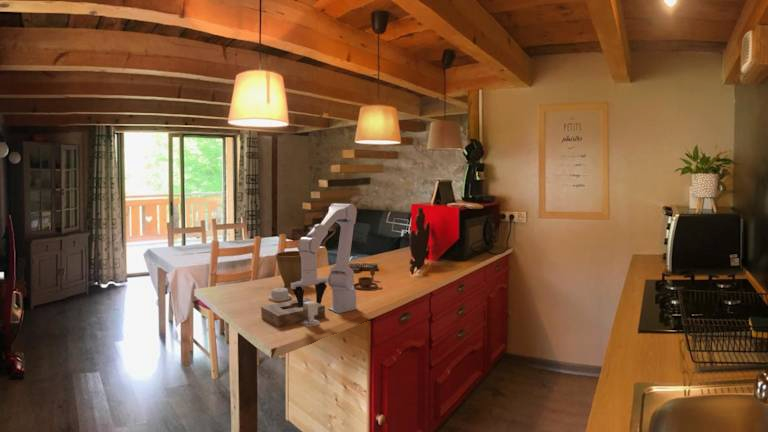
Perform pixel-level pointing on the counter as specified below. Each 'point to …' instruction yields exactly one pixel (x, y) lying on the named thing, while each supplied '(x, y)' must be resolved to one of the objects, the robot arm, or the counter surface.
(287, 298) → the mechanical component
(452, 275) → the counter surface
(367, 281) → the place setting
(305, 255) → the robot arm
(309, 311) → the keyed peg
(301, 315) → the keyhole plate
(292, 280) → the plant pot
